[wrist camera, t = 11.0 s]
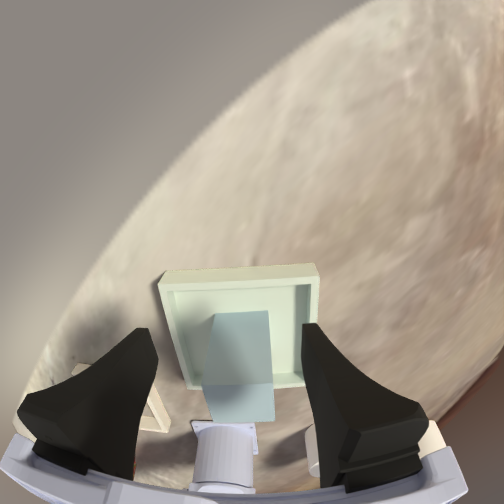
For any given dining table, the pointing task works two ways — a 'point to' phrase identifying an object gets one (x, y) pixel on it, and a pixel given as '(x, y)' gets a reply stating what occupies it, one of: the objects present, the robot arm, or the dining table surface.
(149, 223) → the dining table surface
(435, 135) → the dining table surface
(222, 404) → the block
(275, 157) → the dining table surface
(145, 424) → the holder
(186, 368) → the tray
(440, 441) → the beverage can
